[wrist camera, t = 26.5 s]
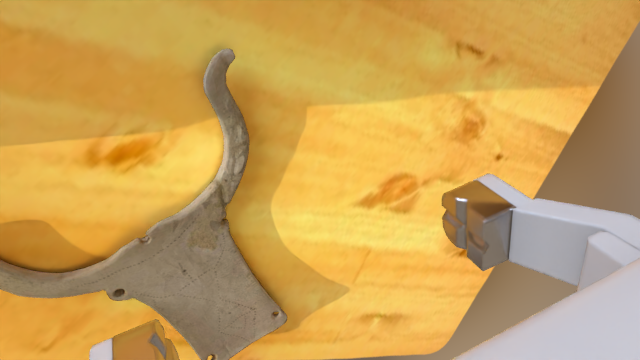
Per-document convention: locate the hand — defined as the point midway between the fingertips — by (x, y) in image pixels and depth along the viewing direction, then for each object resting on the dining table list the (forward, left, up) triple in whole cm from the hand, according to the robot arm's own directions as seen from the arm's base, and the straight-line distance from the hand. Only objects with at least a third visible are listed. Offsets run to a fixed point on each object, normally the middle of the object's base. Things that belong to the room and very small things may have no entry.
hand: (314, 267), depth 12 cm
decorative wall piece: (+3, -20, -29) cm, 35 cm away
